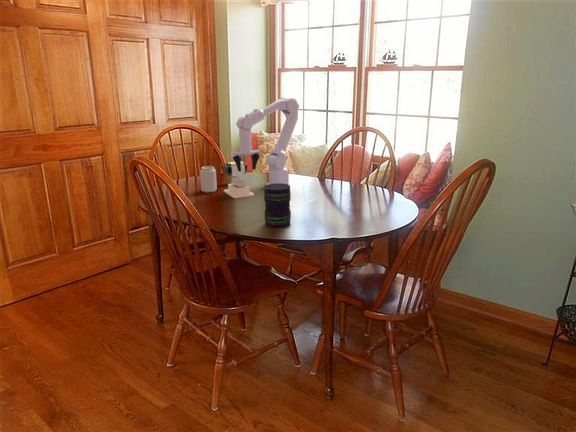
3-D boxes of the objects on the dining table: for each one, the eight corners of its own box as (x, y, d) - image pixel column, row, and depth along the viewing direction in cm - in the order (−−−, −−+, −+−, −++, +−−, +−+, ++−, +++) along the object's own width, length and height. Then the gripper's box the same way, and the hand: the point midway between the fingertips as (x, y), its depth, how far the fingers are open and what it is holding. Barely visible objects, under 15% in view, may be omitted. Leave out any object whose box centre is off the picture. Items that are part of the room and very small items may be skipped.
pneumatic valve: (224, 183, 246) (223, 160, 242) (243, 180, 252) (242, 158, 249) (229, 185, 242) (228, 162, 238) (248, 182, 248) (248, 159, 245)
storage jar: (290, 220, 184) (290, 183, 179) (291, 228, 174) (291, 189, 170) (264, 221, 183) (263, 183, 179) (264, 229, 174) (263, 189, 170)
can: (218, 189, 234) (217, 165, 230) (214, 193, 227) (213, 168, 223) (203, 189, 235) (202, 165, 231) (199, 192, 228) (197, 168, 224)
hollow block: (243, 189, 233) (243, 181, 232) (254, 195, 221) (254, 187, 220) (224, 191, 229) (223, 183, 228) (234, 198, 217) (233, 189, 216)
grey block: (239, 189, 229) (238, 177, 227) (245, 193, 222) (245, 180, 220) (232, 190, 227) (231, 178, 226) (238, 194, 221) (238, 181, 219)
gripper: (234, 144, 219) (235, 173, 223) (262, 142, 225) (263, 170, 229) (228, 142, 225) (230, 170, 229) (256, 140, 231) (257, 167, 235)
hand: (246, 170), depth 230 cm, fingers open, 7 cm apart
